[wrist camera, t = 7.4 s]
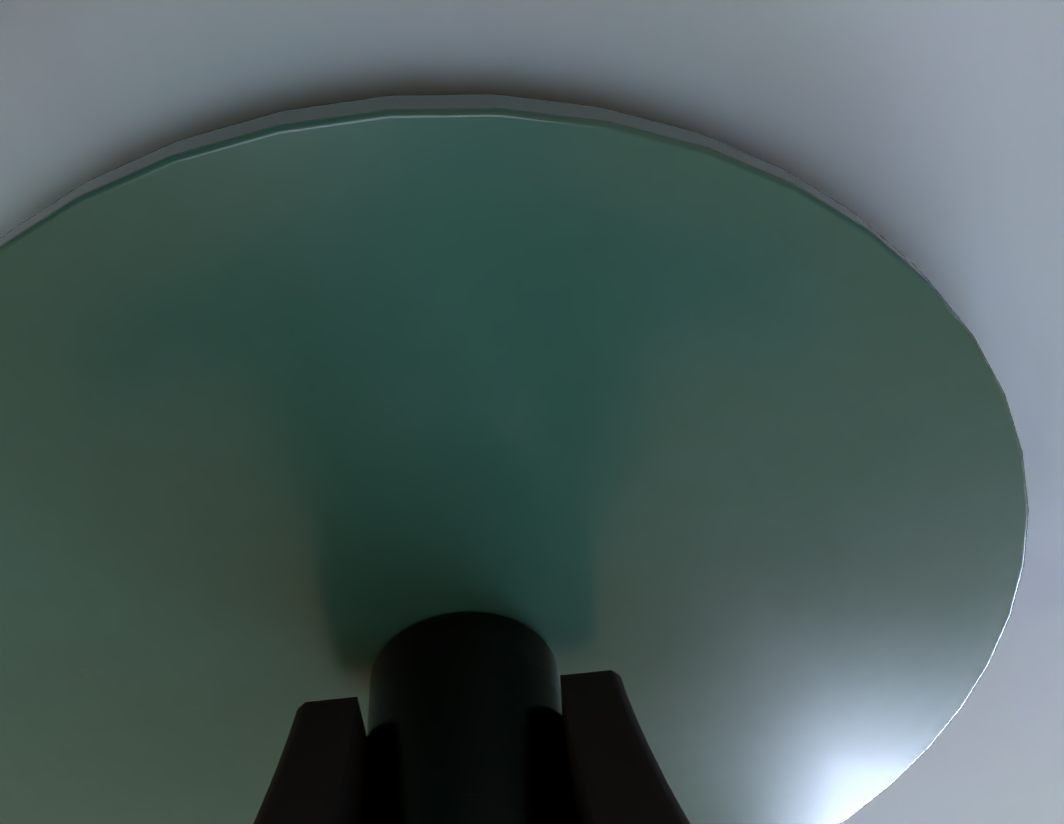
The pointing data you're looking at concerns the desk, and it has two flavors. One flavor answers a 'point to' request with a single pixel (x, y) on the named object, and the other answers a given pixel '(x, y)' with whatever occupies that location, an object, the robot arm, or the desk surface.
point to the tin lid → (483, 472)
